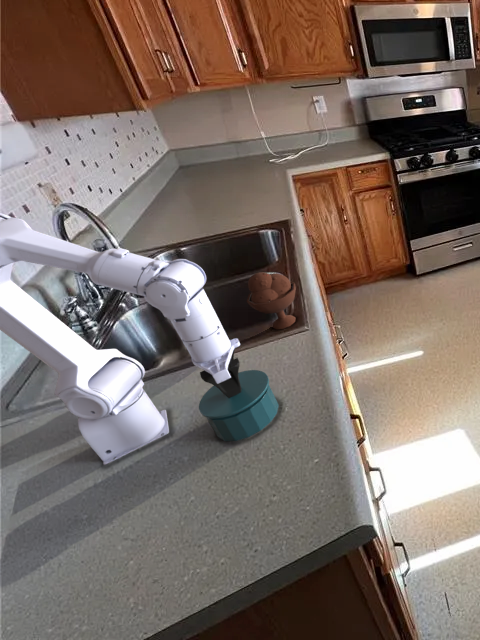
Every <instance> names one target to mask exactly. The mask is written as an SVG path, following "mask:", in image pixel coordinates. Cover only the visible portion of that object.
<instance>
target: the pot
mask: <svg viewBox="0 0 480 640" xmlns="http://www.w3.org/2000/svg"><path fill="white" fill-rule="evenodd" d="M278 411H279V402H278V401H277V398H276V396H275V395H274V391H273V390H272V388H271V386H270V384H269V385H268V388H267V390H266V391H265V393H264V394H263V395H262V396H261V397H260V398H259V399H258V400H257V401H256V402H255V403H254V404H252V405H251V406H250V407H249V408H247V409H245V410H243V411H241V412H239V413H237V414H234V415H231V416H228V417H224V418H216V419H213V418H207V417H205V418H206V420H207V421H208V423H209V425H210V426H211V428H212V429H213V432H214V433H215V434H216V436H217V438H219V439H221V440H222V441H224V442H238V441H241V440H244V439H248V438H250V437H251V436H253V435H256V434H257V433H259V432H261V431H262V430H263V429H264V428H266V427H267V426H268V425H269V424H270V423H272V421H273V420H274V418H275V417H276V416H277V414H278Z"/></svg>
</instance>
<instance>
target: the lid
mask: <svg viewBox="0 0 480 640" xmlns="http://www.w3.org/2000/svg"><path fill="white" fill-rule="evenodd" d="M238 376H239V381H240V385H241V393H239V394H237V395H235V396H233V397H231V398H228V397H227V396H226V395H225V394H223V393H222V392H221V391H220V390H219V389H218V388H217V387H216V386H214V385H212V386H211V387H210V388H209V389H208V390H207V391H206V392H205V393H204V394H203V395H202V397H201V398H200V400H199V402H198V403H199V404H198V410H199V412H200V414H201V415H202V416H203V417H205V418H206V417H207V418H213V419H216V418H224V417H228V416H231V415H234V414H236V413H238V412H241V411H243V410H244V409H246V408H248V407H249V406H251V405H252V404H254V403H255V402H256V401H257V400H258V399H259V398H260V397H261V396H262V395H263V394H264V393H265V391H266V390H267V388H268V385H269V386H270V379H269V376H268V375H267V373H266V372H264V371H262V370H258V369H248V370H244V371H243V370H242V371H238ZM207 418H206V419H207Z"/></svg>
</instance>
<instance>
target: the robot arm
mask: <svg viewBox="0 0 480 640" xmlns="http://www.w3.org/2000/svg"><path fill="white" fill-rule="evenodd" d="M17 262H25V263H31V264H36V265H41V266H45V267H52V268H56V269H61V270H66V271H72V272H77V273H82V274H86V275H88V277H89V279H90V280H91V281H92V283H93V284H95V285H98V286H102V287H106V288H110V289H114V290H118V291H122V292H124V293H125V292H126V293H130V294H133V295H136V296H142V297H143V299H144V300H145V301H146V302H147V303H148V304H149V305H151V306H152V307H154V308H155V309H157V310H159V311H160V312H161V313H162V315H163V316H164V318H167V320H169V321H170V323H171V325H172V327H173V329H175V331H176V333H177V335H178V337H179V338H180V340H181V342H182V344H183V346H184V347H185V349H186V350H187V352H188V354H189V356H190V357H191V358H190V359H191V362H192V364H193V365H194V366H195V367H197V368H199V369H201V370H202V371H199V376H200V378H201V380H202V381H203V382H205V383H207V384H211V385H212V386H216V387H217V388H218V389H219V390H220V391H221V392H222V393H223V394H225V395H226V396H227V397H228V398H231V397H233V396H235V395H237V394H239V393H241V385H240V381H239V376H238V373H239V372H240V371H239V370H240V367H241V365H240V363H241V362H240V360H239V358H238V357H235V351H236V350H235V349H236V348H238V347H240V346H241V343H240V340H239V338H237V337H236V338H233V339H229V337H228V335H227V332H226V330H225V329H224V326H223V325H222V323H221V321H220V318H219V317H218V314H217V313H216V310H215V309H214V307H213V305H212V303H211V301H210V299H209V297H208V296H207V293H206V291H205V289H204V286H205V284H206V282H207V275H206V273H205V271H204V269H203V268H202V267H201V266H200V265H198V264H197V263H196V262H193V261H190V260H188V259H186V258H177V259H173V260H167V259H165V260H160V259H156V258H155V259H154V258H152V257H151V258H150V257H147V256H143V255H140V254H136V253H132V252H130V250H128V249H125V248H122V247H119V248H109V249H106V250H104V251H100V252H99V251H97V250H94V249H91V248H88V247H86V246H82V245H79V244H77V243H73V242H71V241H67V240H64V239H62V238H59V237H55V236H53V235H50V234H46V233H44V232H40V231H37V230H35V229H32V227H31V226H30V225H29V224H28V223H27V221H26V220H24V219H22V218H18V217H12V216H10V215H8V214H4V213H2V212H0V331H1V332H2V333H3V334H5V335H6V336H8V337H9V338H10V339H12V340H13V341H14V342H15V343H16V344H19V345H20V346H21V347H22V348H24V349H25V350H26V351H28V352H29V353H30V354H32V355H33V356H34V357H36V358H37V359H38V360H40V361H41V362H43V363H44V364H45V365H46V366H48V367H49V368H51V369H52V370H53V371H54V372H56V373H57V374H58V375H57V381H56V384H55V388H54V396H55V397H57V398H58V399H60V400H61V401H62V402H63V403H64V405H65V407H66V409H67V410H68V411H69V412H70V413H71V414H72V415H74V416H75V417H77V425H78V430H79V432H80V434H81V436H82V437H83V439H84V440H85V442H86V443H87V444H88V445H89V447H90V448H91V450H92V451H94V452H95V454H96V455H97V456H98V457H99V458H100V459H101V461H102V464H103V466H105V465H108V464H110V463H112V462H114V461H115V460H118V459H120V458H122V457H123V456H126V455H128V454H129V453H132V452H134V451H136V450H138V449H140V448H142V447H144V446H146V445H148V444H150V443H152V442H154V441H156V440H158V439H160V438H162V437H164V436H166V435H167V434H169V433H170V428H169V422H168V415H167V409H162V410H159V409H158V408H157V407H156V406H155V404H154V403H153V401H152V399H151V398H150V397H149V395H148V394H147V392H146V391H145V389H144V388H143V387H144V385H145V383H144V382H143V378H144V377H145V374H146V370H145V368H144V366H143V365H142V363H141V362H139V361H138V360H137V359H135V358H133V357H130V356H128V355H126V354H124V353H122V352H121V351H120V350H118V349H117V348H105V349H104V348H103V349H96V348H95V347H94V346H92V344H90V343H89V342H87V340H85V339H84V338H83V337H81V336H80V335H79V334H78V333H77V332H75V331H74V330H73V329H71V328H70V327H69V326H67V325H66V324H65V323H64V322H63V321H61V319H59V318H58V317H57V316H56V315H54V314H53V313H52V312H50V310H48V309H47V308H46V307H44V306H43V305H42V304H41V303H39V302H38V301H37V300H36V299H35V298H33V296H31V295H29V294H28V293H27V292H26V291H25V290H23V289H22V288H21V287H20V286H19V285H17V284H16V283H15V282H13V280H12V279H11V278H12V270H13V266H14V265H15V264H16V263H17Z"/></svg>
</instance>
